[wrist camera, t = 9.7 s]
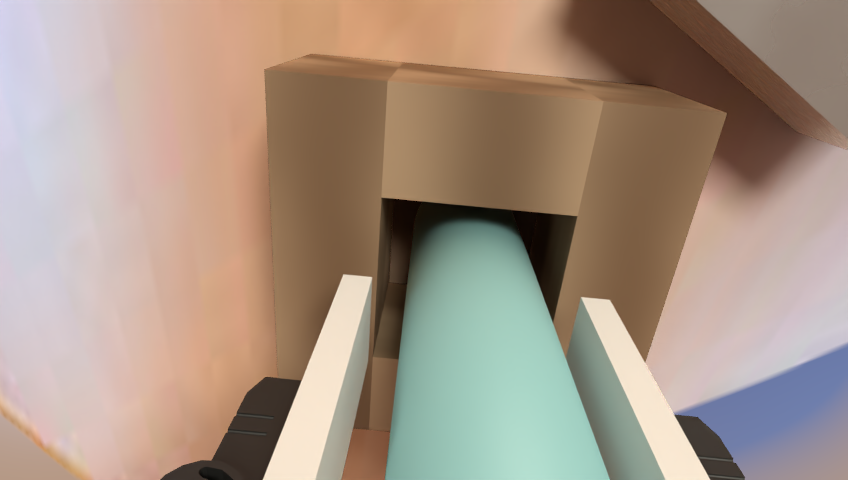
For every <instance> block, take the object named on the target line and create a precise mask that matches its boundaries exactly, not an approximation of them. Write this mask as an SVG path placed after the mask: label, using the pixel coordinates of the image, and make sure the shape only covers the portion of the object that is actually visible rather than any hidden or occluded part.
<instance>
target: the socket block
mask: <svg viewBox="0 0 848 480" xmlns="http://www.w3.org/2000/svg"><path fill="white" fill-rule="evenodd" d="M264 70H265V93H266V116H267V140H268V163H269V186H270V209H271V232H272V256H273V279H274V302H275V325H276V348H277V371H278V378H282V379H292V380H302V379H303V376H304V374H305V371H306V369H307V366H308V364H309V361H310V358H311V356H312V353H313V351H314V348H315V346H316V343H317V341H318V338H319V335H320V333H321V330H322V328H323V325H324V323H325V320H326V318H327V315H328V313H329V310H330V307H331V305H332V302H333V300H334V297H335V295H336V292H337V290H338V287H339V285H340V282H341V279H342V277H343V274H345V275H356V276H366V277H372V293H371V314H370V334H369V354H368V364H367V369H366V373H365V377H364V382H363V386H362V391H361V395H360V400H359V404H358V408H357V413H356V417H355V422H354V426H353V428H356V429H366V430H377V431H387V432H390V430H391V421H392V413H393V404H394V395H395V387H396V378H397V369H398V360H399V352H400V343H401V334H402V325H403V317H404V308H405V299H406V291H407V285H406V284H396V283H389V272H390V257H391V241H392V226H393V210H394V199H403V200H413V201H424V202H434V203H445V204H455V205H466V206H476V207H487V208H497V209H508V210H518V211H529V212H538V213H537V218H536V224H535V229H534V234H533V239H532V245H531V250H530V255H529V259H530V262H531V264H532V267H533V270H534V273H535V275H536V278H537V281H538V284H539V286H540V289H541V292H542V295H543V297H544V300H545V303H546V306H547V308H548V311H549V314H550V317H551V319H552V322H553V325H554V328H555V330H556V333H557V336H558V339H559V341H560V344H561V347H562V349H563V352H564V355H565V358H566V355H567V351H568V347H569V343H570V339H571V335H572V331H573V327H574V323H575V319H576V315H577V311H578V307H579V303H580V299H581V297H585V298H596V299H606V300H610V301H611V303H612V305H613V306H614V308H615V310H616V312H617V314H618V315H619V317H620V319H621V321H622V323H623V324H624V326H625V328H626V330H627V331H628V333H629V335H630V337H631V339H632V340H633V342H634V344H635V346H636V348H637V349H638V351H639V353H640V355H641V357H642V358H643V360H644V362H645V361H646V358H647V355H648V352H649V349H650V346H651V343H652V340H653V337H654V334H655V331H656V328H657V325H658V322H659V319H660V316H661V313H662V310H663V307H664V304H665V301H666V298H667V295H668V292H669V289H670V286H671V282H672V279H673V276H674V273H675V270H676V267H677V264H678V261H679V258H680V255H681V252H682V249H683V246H684V243H685V240H686V237H687V234H688V231H689V228H690V225H691V222H692V219H693V216H694V213H695V210H696V207H697V204H698V201H699V198H700V194H701V191H702V188H703V185H704V182H705V179H706V176H707V173H708V170H709V167H710V164H711V161H712V158H713V155H714V152H715V149H716V146H717V143H718V140H719V137H720V134H721V131H722V128H723V125H724V122H725V119H726V116H727V113H726V112H723V111H720V110H718V109H715V108H712V107H710V106H707V105H704V104H701V103H699V102H696V101H693V100H691V99H688V98H685V97H683V96H680V95H677V94H675V93H672V92H669V91H667V90H664V89H661V88H658V87H656V86H646V85H636V84H625V83H615V82H604V81H593V80H583V79H572V78H562V77H551V76H540V75H530V74H519V73H509V72H498V71H487V70H477V69H466V68H456V67H445V66H435V65H424V64H413V63H403V62H392V61H382V60H371V59H360V58H350V57H339V56H329V55H318V54H310V55H307V56H304V57H301V58H298V59H295V60H291V61H288V62H285V63H282V64H279V65H276V66H273V67H270V68H267V69H264Z"/></svg>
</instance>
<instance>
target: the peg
mask: <svg viewBox="0 0 848 480" xmlns="http://www.w3.org/2000/svg"><path fill="white" fill-rule="evenodd" d="M385 480H610V478H609V476H608V473H607V470H606V467H605V465H604V462H603V459H602V456H601V454H600V451H599V448H598V445H597V443H596V440H595V437H594V434H593V432H592V429H591V426H590V424H589V421H588V418H587V415H586V413H585V410H584V407H583V404H582V402H581V399H580V396H579V393H578V391H577V388H576V385H575V382H574V380H573V377H572V374H571V371H570V369H569V366H568V363H567V360H566V358H565V355H564V352H563V349H562V347H561V344H560V341H559V339H558V336H557V333H556V330H555V328H554V325H553V322H552V319H551V317H550V314H549V311H548V308H547V306H546V303H545V300H544V297H543V295H542V292H541V289H540V286H539V284H538V281H537V278H536V275H535V273H534V270H533V267H532V264H531V262H530V259H529V256H528V254H527V251H526V248H525V245H524V243H523V240H522V237H521V234H520V232H519V229H518V226H517V223H516V221H515V218H514V215H513V212H512V210H508V209H497V208H487V207H476V206H466V205H455V204H445V203H434V202H424V201H423V202H422V203H421V205H420V206H419V209H418V211H417V213H416V217H415V222H414V229H413V238H412V247H411V256H410V264H409V273H408V282H407V291H406V299H405V308H404V317H403V325H402V334H401V343H400V352H399V360H398V369H397V378H396V387H395V395H394V404H393V413H392V421H391V430H390V439H389V448H388V456H387V465H386V474H385Z"/></svg>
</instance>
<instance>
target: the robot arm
mask: <svg viewBox="0 0 848 480" xmlns="http://www.w3.org/2000/svg"><path fill="white" fill-rule="evenodd" d="M371 293H372V277H366V276H356V275H345V274H343V277H342V279H341V282H340V285H339V287H338V290H337V292H336V295H335V297H334V300H333V302H332V305H331V307H330V310H329V313H328V315H327V318H326V320H325V323H324V325H323V328H322V330H321V333H320V335H319V338H318V341H317V343H316V346H315V348H314V351H313V353H312V356H311V358H310V361H309V364H308V366H307V369H306V371H305V374H304V376H303V379H302V380H292V379H282V378H271V377H265V378H264V379H263V380H261V381H260V382H259V383H258V384H257V385H256V386H254V387H253V388H252V389H251V390H250V391H249V392H247V394H246V396H245V398H244V400H243V402H242V403H241V405H240V407H239V409H238V411H237V415H236V416H235V417H234V419H233V421H232V423H231V424H230V426H229V428H228V433H226V434H225V436H224V438H223V440H222V442H221V444H220V446H219V447H218V449H217V451H216V453H215V455H214V457H213V459H212V461H205V460H201V461H198V462H194V463H190V464H186V465H183V466H181V467H179V468H177V469H175V470H174V471H172V472H170V473H168V474H166V475H165V476H164V477H163V478H162V479H161V480H341V479H342V475H343V470H344V466H345V462H346V457H347V453H348V448H349V444H350V439H351V435H352V431H353V426H354V422H355V417H356V413H357V408H358V404H359V400H360V395H361V391H362V386H363V382H364V377H365V373H366V369H367V364H368V354H369V334H370V314H371ZM566 360H567V363H568V366H569V369H570V371H571V374H572V377H573V380H574V382H575V385H576V388H577V391H578V393H579V396H580V399H581V402H582V404H583V407H584V410H585V413H586V415H587V418H588V421H589V424H590V426H591V429H592V432H593V434H594V437H595V440H596V443H597V445H598V448H599V451H600V454H601V456H602V459H603V462H604V465H605V467H606V470H607V473H608V476H609V478H610V480H745V477H744V475H743V474H742V472H741V470H740V469H739V467H738V466H737V464H736V463H733V458H732V456H731V455H730V453H729V451H728V450H727V448H726V447H725V445H724V444H723V442H722V440H721V439H720V437H719V436H718V435H717V434H715V433H714V432H713V431H712V430H711V429H710V428H709V427H708V426H706V424H704V423H703V422H702V421H701V420H700V419H699V418H698V417H692V416H681V415H674V414H673V412H672V410H671V409H670V407H669V405H668V403H667V401H666V400H665V398H664V396H663V394H662V392H661V391H660V389H659V387H658V385H657V383H656V382H655V380H654V378H653V376H652V374H651V373H650V371H649V369H648V367H647V366H646V364H645V362H644V360H643V358H642V357H641V355H640V353H639V351H638V349H637V348H636V346H635V344H634V342H633V340H632V339H631V337H630V335H629V333H628V331H627V330H626V328H625V326H624V324H623V323H622V321H621V319H620V317H619V315H618V314H617V312H616V310H615V308H614V306H613V305H612V303H611V301H610V300H606V299H596V298H585V297H581V299H580V303H579V307H578V311H577V315H576V319H575V323H574V327H573V331H572V335H571V339H570V343H569V347H568V351H567V355H566Z"/></svg>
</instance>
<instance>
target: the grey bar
mask: <svg viewBox="0 0 848 480" xmlns="http://www.w3.org/2000/svg"><path fill="white" fill-rule="evenodd" d="M649 1H650V2H651V3H652V4H654V5H655V6H656V7H657V8H658V9H659V10H660V11H661V12H663V13H664V14H665V15H666V16H667V17H668V18H669V19H670V20H672V21H673V22H674V23H675V24H676V25H677V26H678V27H679V28H681V29H682V30H683V31H684V32H685V33H686V34H687V35H688V36H690V37H691V38H692V39H693V40H694V41H695V42H696V43H697V44H699V45H700V46H701V47H702V48H703V49H704V50H705V51H706V52H708V53H709V54H710V55H711V56H712V57H713V58H714V59H715V60H717V61H718V62H719V63H720V64H721V65H722V66H723V67H724V68H726V69H727V70H728V71H729V72H730V73H731V74H732V75H733V76H734V77H736V78H737V79H738V80H739V81H740V82H741V83H742V84H743V85H745V86H746V87H747V88H748V89H749V90H750V91H751V92H752V93H754V94H755V95H756V96H757V97H758V98H759V99H760V100H761V101H763V102H764V103H765V104H766V105H767V106H768V107H769V108H770V109H772V110H773V111H774V112H775V113H776V114H777V115H778V116H779V117H781V118H782V119H783V120H784V121H785V122H786V123H787V124H788V125H790V126H791V127H792V128H793V129H794V130H795V131H796V132H798V133H801V134H804V135H807V136H810V137H812V138H815V139H818V140H821V141H824V142H826V143H829V144H832V145H835V146H838V147H841V148H843V149H846V150H848V0H649Z"/></svg>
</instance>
